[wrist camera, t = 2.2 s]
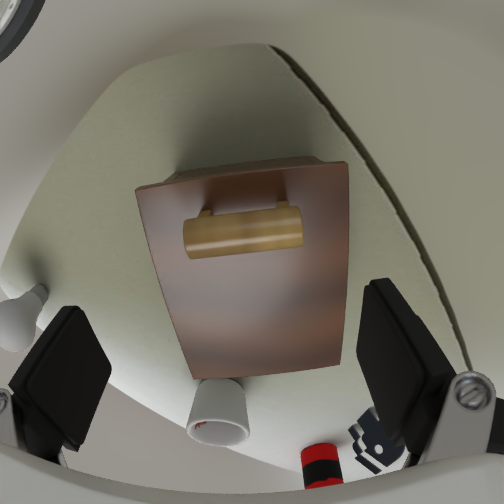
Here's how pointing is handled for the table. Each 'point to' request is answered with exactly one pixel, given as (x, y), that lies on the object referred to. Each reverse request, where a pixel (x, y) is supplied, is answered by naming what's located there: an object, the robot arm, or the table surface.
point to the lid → (253, 266)
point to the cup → (219, 414)
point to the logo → (374, 443)
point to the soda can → (321, 466)
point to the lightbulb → (21, 319)
